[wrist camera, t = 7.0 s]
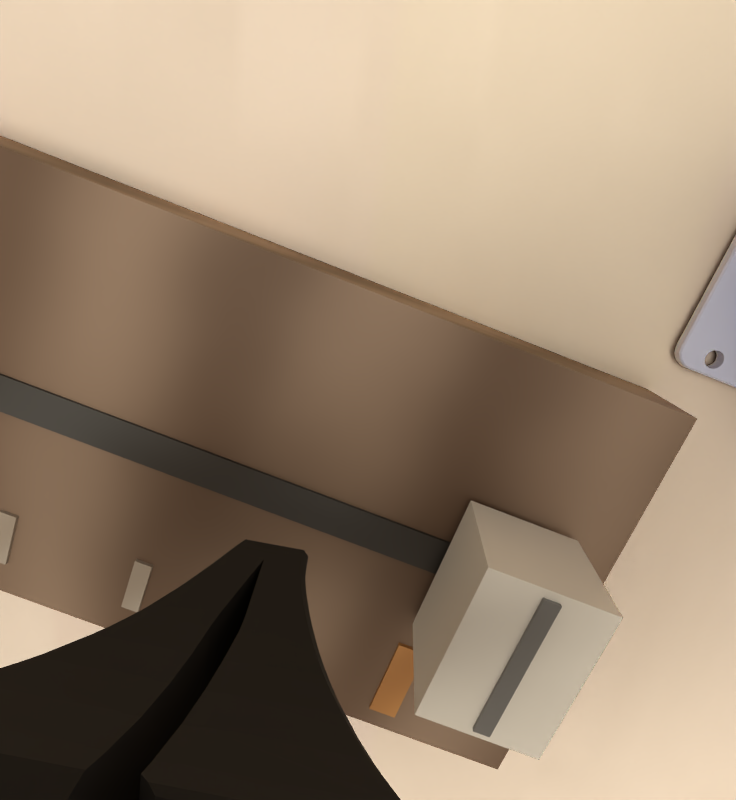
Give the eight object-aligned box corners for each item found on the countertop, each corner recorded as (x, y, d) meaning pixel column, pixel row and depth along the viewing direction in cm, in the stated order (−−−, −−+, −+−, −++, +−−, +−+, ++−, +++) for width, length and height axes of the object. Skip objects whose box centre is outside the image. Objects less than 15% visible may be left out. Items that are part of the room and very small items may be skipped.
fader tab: (577, 540, 15) (624, 620, 12) (512, 660, 16) (539, 763, 13) (470, 500, 15) (489, 570, 12) (412, 623, 16) (414, 718, 13)
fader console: (647, 389, 17) (699, 420, 14) (483, 695, 20) (498, 772, 17) (-59, 112, 16) (-163, 82, 13) (-116, 475, 20) (-210, 517, 17)
